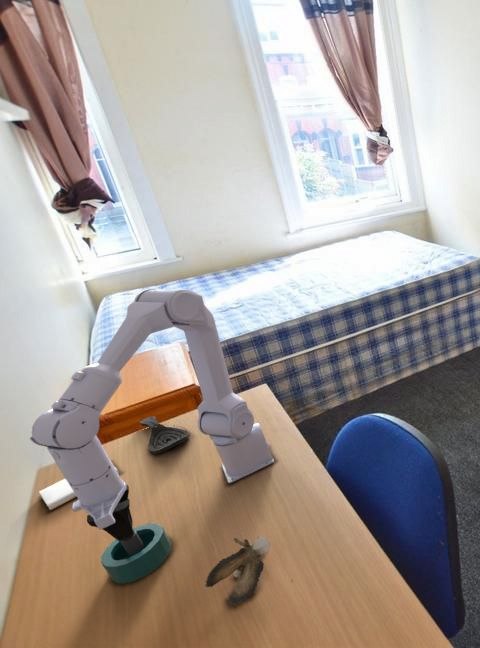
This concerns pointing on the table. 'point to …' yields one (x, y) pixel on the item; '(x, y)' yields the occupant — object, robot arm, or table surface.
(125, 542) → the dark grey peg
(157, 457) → the table surface
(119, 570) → the teal hollow cylinder
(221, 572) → the eagle figurine
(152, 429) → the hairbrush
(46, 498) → the hard drive
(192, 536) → the table surface
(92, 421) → the robot arm
